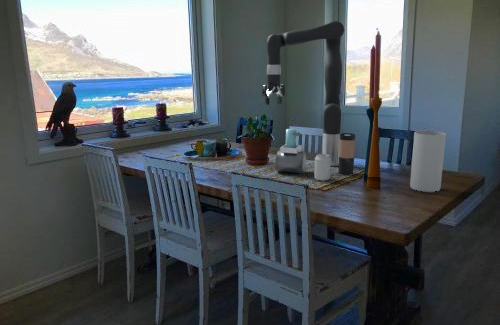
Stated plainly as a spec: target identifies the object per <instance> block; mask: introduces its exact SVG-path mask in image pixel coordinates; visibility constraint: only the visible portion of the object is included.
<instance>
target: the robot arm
mask: <svg viewBox="0 0 500 325" xmlns="http://www.w3.org/2000/svg"><path fill="white" fill-rule="evenodd" d="M344 33H345V27H344V24H343V23H342V22H340V21H338V20H333V21H330V22H329V23H326V24H323V25H319V26H316V27H311V28H302V29H295V30H291V31H286V32H283V33H278V34H277V33H272V34H270V35H269V36H268V37H267V40H266V44H267V46H266V47H267V56H266V58H267V61H266V63H267V64H266V83H267V85H266V84H263V85H262V88H261V89H262V91H261V92H262V93H261V96H262V97H264V98H265V100H264V102H265V103H264V104H265V105H266V106H269V105H270V96H271V95H273V94H276V95H277V104H279V105H280V104H281V105H282V102H283V101H282V100H283V97H284V96H285V95H286V90H285V86H286V85H285V84H283V83H282V84H281V82H282V77H281V76H282V74H281V73H282V67H281V48H282V47H287V46H289V47H290V46H295V45H301V44H305V43H309V42H312V41H317V40H325V57H324V74H323V75H324V76H323V77H324V88H325V101H324V102H325V103H324V110H323V119H322V120H323V121H322V122H323V124H322V153H321V154H327V155H329V157H330V158H331V162H330V167H333V166H334V167H335V166H338V167H339V143H340V134H341V127H342V126H341V125H342V108H341V100H340V98H341V96H340V94H341V87H342V78H343V63H342V61H343V60H342V55H341V39H342V37H343V35H344Z"/></svg>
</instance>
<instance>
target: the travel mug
mask: <svg viewBox="0 0 500 325" xmlns="http://www.w3.org/2000/svg"><path fill="white" fill-rule="evenodd" d="M355 149H356V134H355V133H351V132H349V133H348V132H344V133H340V143H339V165H338V174H339V175H342V174H343V176H351V175H350V174H352V175H353V174H354V167H355V166H354V165H355V164H354V163H355V153H356V152H355Z"/></svg>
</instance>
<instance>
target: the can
mask: <svg viewBox="0 0 500 325" xmlns="http://www.w3.org/2000/svg"><path fill="white" fill-rule="evenodd" d="M330 162H331V158H330V157H329V155H327V154H322V153H318V154H316V155H315V157H314V179H315V180H316V181H319V180H321V181H320V182H324V181H325V180H327V181H328V180H329V179H330V178H331V166H330ZM325 182H326V181H325Z"/></svg>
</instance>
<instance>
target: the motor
mask: <svg viewBox="0 0 500 325" xmlns="http://www.w3.org/2000/svg"><path fill="white" fill-rule="evenodd" d="M302 147H303V145H300V144H296V148H288V147H286V143H285V144H284V145H282V146H280V148H279V150H278V151H277V152H276V156H275V163H274V164H275V165H274V166H275V169H276V172H282V173H292V174H293V173H294V174H304V173H305V170H306V165H307V164H306V163H307V156H306V152H305V151H302V150H303V148H302Z"/></svg>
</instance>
